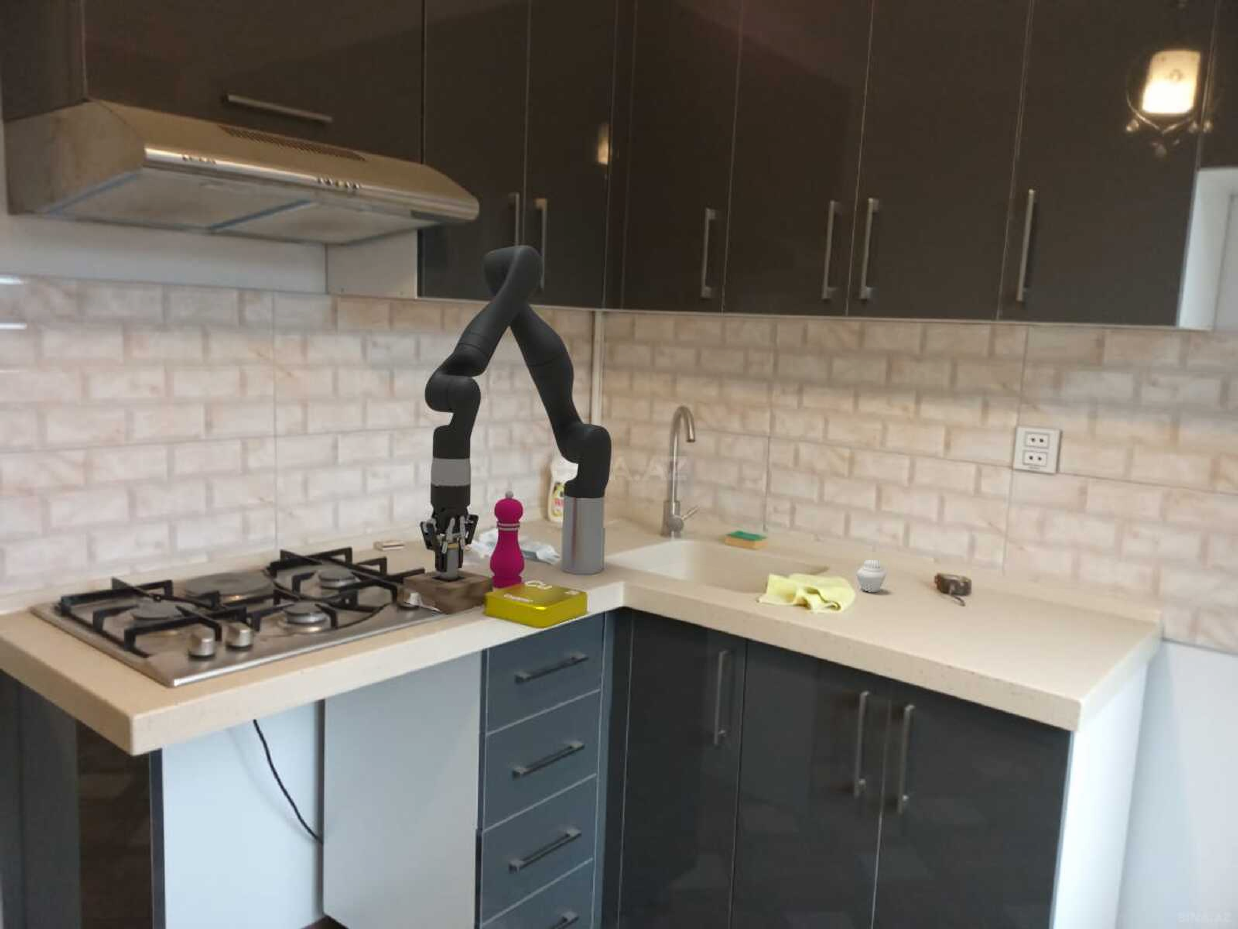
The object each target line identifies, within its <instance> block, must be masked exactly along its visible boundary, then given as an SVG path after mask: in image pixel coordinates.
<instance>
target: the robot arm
mask: <svg viewBox="0 0 1238 929" xmlns="http://www.w3.org/2000/svg"><path fill="white" fill-rule="evenodd" d="M542 259H543V258H542V257H541V255H540V253H539V252H538V251H537V250H536V249H535V248H534V247H532V246H531V245H523V244H521V245H514V246H513V245H512V246H509V247H503V248H499V249H494V250H491V251H489V252H488V253H486V255H485V256H484V257H483V262H482V273H483V277H484V281H485V284H486V286H487V288H488V289H489V291H490V293H491V295H492V299H491V300H490V301H488V302H489V303H487V304H486V305H485V306H484V307H483V308H482V309H481V310H479V312H478V313H477V314H475V316H474V317H473V318H472V319H471V321H470V322H469V323H468V324H467V326H466V327H465V328H464V330H463V331H462V333H461V335H460V337H459V339H458V340H457V343H456V345H455V347H454V349H453V351H452V353H451V354H450V355H449V356H448V357H447V358H445V360H444V361H443V362H442V363H441V364H440V365H439V366H438V367H437V368H436V369H435V370H434V371H433V373H432V374H431V375H430V377H429V378H428V380H427V383H425V384H426V385H425V388H424V400H425V401H424V402H425V403H426V405H427V407H428V408H429V409H431V410H433V412H437V413H438V412H439V413H448V414H452V416H451V418H450V419H451V420H450V422H449V423H448V424H444V425H440V426H437V427H435V429H434V430H433V434H432V458H431V459H432V460H431V465H430V493H429V494H430V495H429V496H430V497H429V498H430V501H429V503H430V505H431V507H432V513H431V516H430V518H429V519H428V520H426V521H423V520H422V521H420V523H419V527H420V530H421V536H422V539H423V542H424V545H425V548H426V550H427V551H432V552H434V569H435V571H438V572H442V573H443V572H446V571H447V553H446V551H447V545H448V542H449V541H450V540H453V541H458V542H459V570H460V569H462V568H463V565H464V564H463V563H464V550H465V548H466V547H467V545H468V546H469V545H472V543H473V539H474V536H475V532H476V528H477V526H478V525H477V524H478V522H479V515H478V514H474V513H469V509H468V507H469V506H470V505H471V492H472V491H471V490H472V488H471V486H472V465H471V438H472V433H473V430H474V427H475V422H476V420H477V416H478V413H479V409H480V405H481V403H482V402H481V401H482V392H481V389H480V386H479V384H478V381H477V380H476V379H474V378H475V377H479V376H481V375H482V374H484V373H485V372H486V370H487V368H488V366H489V364H490V362H491V361H492V360H491V359H492V358H493V355H494V354H495V351H496V350H497V348H498V345H499V343H500V342H501V339H502V338H503V336H504V334H505V333H506V331H507V329H508V328H509V329H510V331H511V333H512V335H513V338H514V339H515V342H516V344H517V346H518V348H519V350H520V353H521V356H522V358H523V360H524V363H525V365H526V368H527V370H528V373H529V374H530V376H531V380H532V381H533V384H534V385H535V388H536V390H537V392H538V395H539V397H540V399H541V402H542V404H543V407H544V409H545V411H546V414H547V417H548V420H549V422H550V426H551V430H552V433H553V436H554V437H553V438H554V439H555V442H556V446H557V449H558V451H559V453H560V454H561V456H562V458H564V459H565V460H566V461H567V462H569V463H572V464H576V465H577V470H576V475H575V477H573V478H572V479H569V480H566V481H565V482H564V484H563V500H562V503H563V504H562V528H561V529H562V530H561V531H562V532H561V533H562V534H561V552H560V553H561V554H560V555H561V557H560V558H561V559H560V562H561V563H560V570H561V571H562V572H564V573H567V574H571V575H579V576H580V575H584V576H585V575H594V574H599V573H601V572H602V570H603V569H605V568H604V567H605V544H606V542H605V541H606V528H605V527H604V526H605V525H604V524H605V522H604V521H605V502H606V500H605V498H606V497H605V495H606V488H607V487H608V485H609V484H608V483H609V480H610V473H611V472H610V471H611V461H612V439H611V435H610V432H609V431H608V429H606V428H605V427H604V426H602V425H599V424H591V423H586V422H585V423H584V422H583V420H582V419H581V417H580V415H579V413H578V410H577V408H576V405H575V402H574V398H573V390H574V389H573V388H574V381H575V380H574V379H575V373H574V372H575V371H574V365H573V362H572V359H571V356H570V355H569V352H568V349H567V347H566V345H565V343H564V341H563V339H562V338H561V336H560V335H559V334H558V333H557V332H556V330H554V329H553V327H551V326H550V325H549V324H548V322H547V321H544V320H543V319H542V318H541V317H540V316H539V315H538V314H537V313H536V311H535V310H534V309H533V307H531V305H530V303H529V302H528V300H529V298H530V297H531V295H532V294H533V293H534V291H536V289H537V288H538V286H539V284H540V283H541V280H542V277H543V274H544V264H543V260H542ZM441 541H442V544H441V546H440V542H441Z"/></svg>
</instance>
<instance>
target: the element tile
mask: <svg viewBox="0 0 1238 929" xmlns="http://www.w3.org/2000/svg"><path fill="white" fill-rule="evenodd" d="M588 596H589V595H588V593H587V592H586V591H582V590H577V589H572V588H568V587H564V586H560V585H554V584H550V583H545V582H542V581H539V580H526V581H523V582H522V583H519V584H516V585H512V586H509V587H505V588H498V589H496V590H495V589H494V590H493V591H492V592H488V593H486V594H485V595H484V605H483V615H485V616H488V617H491V618H496V619H499V620H502V621H503V620H504V621H507V622H512V623H516V624H519V625H524V626H527V627H532V628H536V629H546V628H547V629H548V628H551V627H554V626H557V625H560V624H563V623H565V622H568V621H570V620H571V621H572V620H573V619H577V618H579V617H582V616H584V615H586V614H587V613H588Z"/></svg>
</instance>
